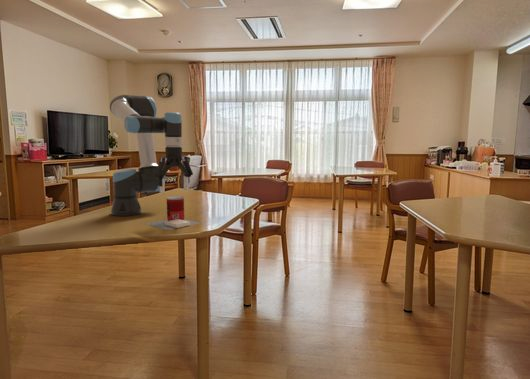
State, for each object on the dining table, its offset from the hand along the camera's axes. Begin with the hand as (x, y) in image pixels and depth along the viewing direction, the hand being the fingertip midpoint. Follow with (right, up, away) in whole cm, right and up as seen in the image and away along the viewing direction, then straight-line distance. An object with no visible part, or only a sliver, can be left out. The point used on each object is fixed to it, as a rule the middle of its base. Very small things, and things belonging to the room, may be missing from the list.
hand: (174, 191), depth 174 cm
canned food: (0, -14, +1) cm, 14 cm away
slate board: (+1, -16, -5) cm, 17 cm away
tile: (0, -14, -6) cm, 15 cm away
